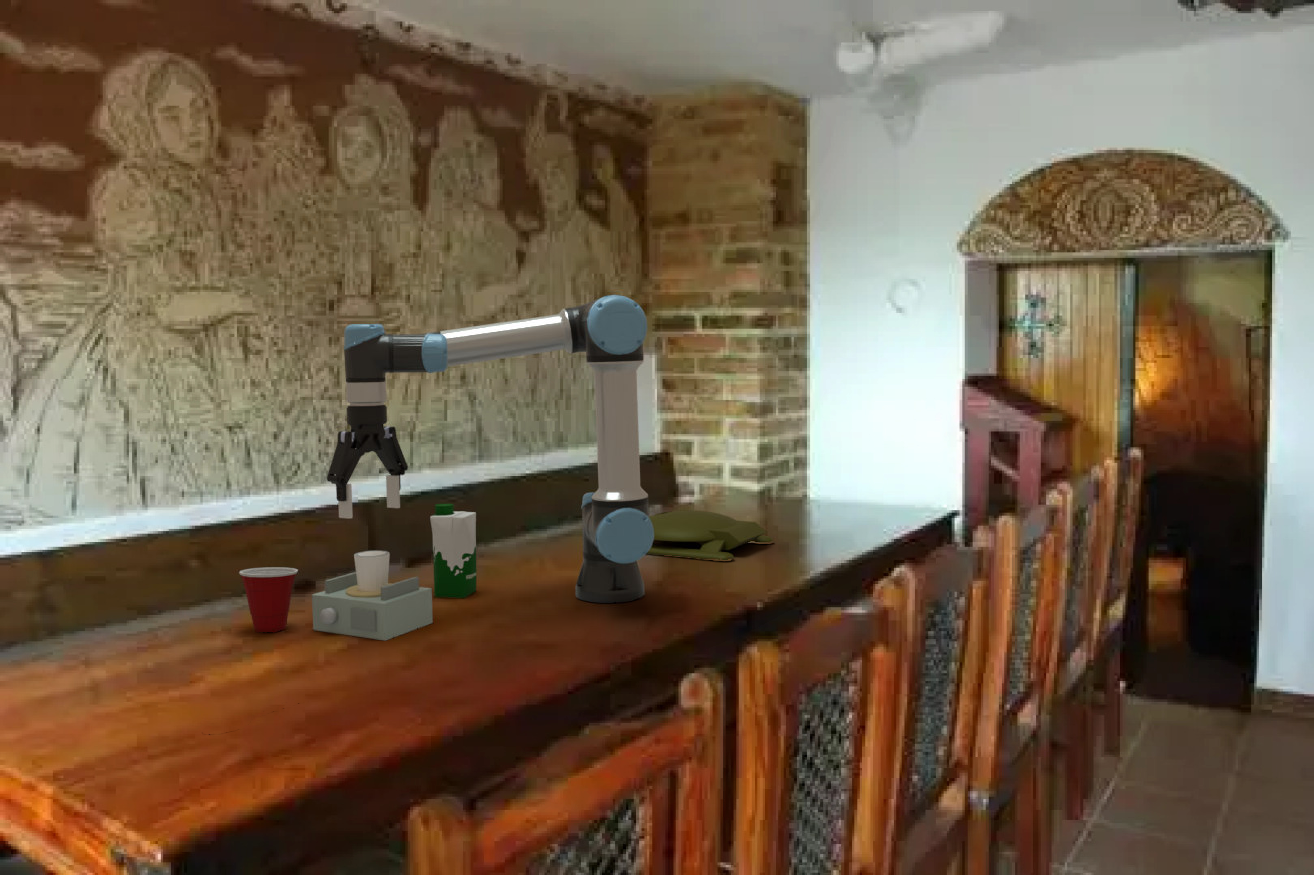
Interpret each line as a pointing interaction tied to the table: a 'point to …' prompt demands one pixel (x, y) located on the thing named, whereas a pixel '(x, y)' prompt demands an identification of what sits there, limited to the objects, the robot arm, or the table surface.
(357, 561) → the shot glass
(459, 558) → the milk carton
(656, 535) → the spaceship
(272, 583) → the plastic cup
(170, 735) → the table surface
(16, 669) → the table surface
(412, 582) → the portable stove
